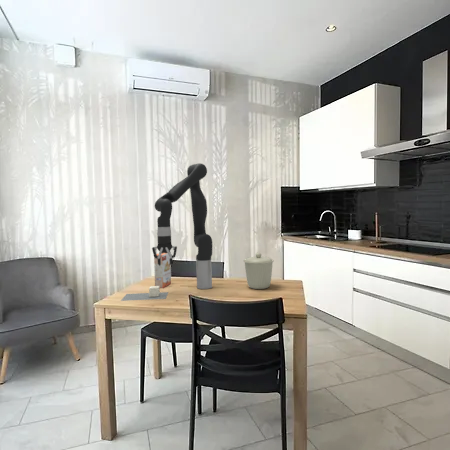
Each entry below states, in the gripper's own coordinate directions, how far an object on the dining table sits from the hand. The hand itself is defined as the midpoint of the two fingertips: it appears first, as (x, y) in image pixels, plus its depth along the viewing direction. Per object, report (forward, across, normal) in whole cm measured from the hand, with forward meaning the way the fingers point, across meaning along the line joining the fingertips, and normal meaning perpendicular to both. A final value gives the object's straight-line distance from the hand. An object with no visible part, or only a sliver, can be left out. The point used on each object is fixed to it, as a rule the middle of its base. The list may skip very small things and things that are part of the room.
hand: (165, 265), depth 184 cm
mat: (+18, +11, 0) cm, 21 cm away
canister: (+18, -54, -11) cm, 58 cm away
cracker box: (+18, +4, -25) cm, 31 cm away
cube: (+17, +6, 0) cm, 18 cm away
